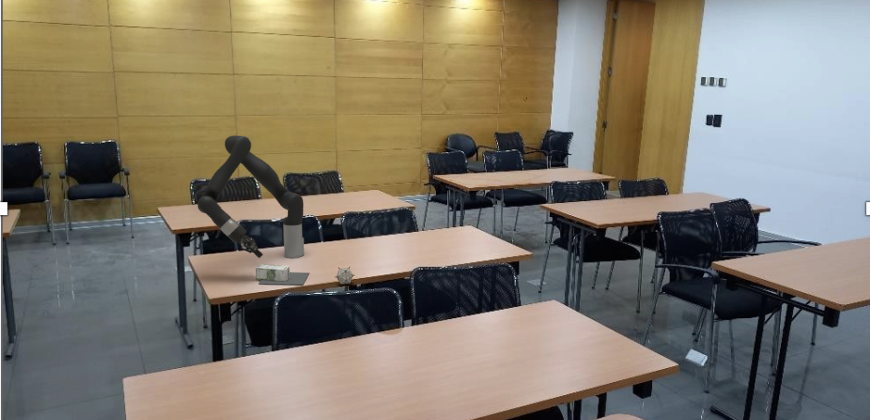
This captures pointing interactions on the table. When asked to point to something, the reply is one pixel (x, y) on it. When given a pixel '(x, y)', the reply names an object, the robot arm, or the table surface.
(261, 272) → the syrup box
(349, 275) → the spiked polyhedron ball
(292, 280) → the mat
